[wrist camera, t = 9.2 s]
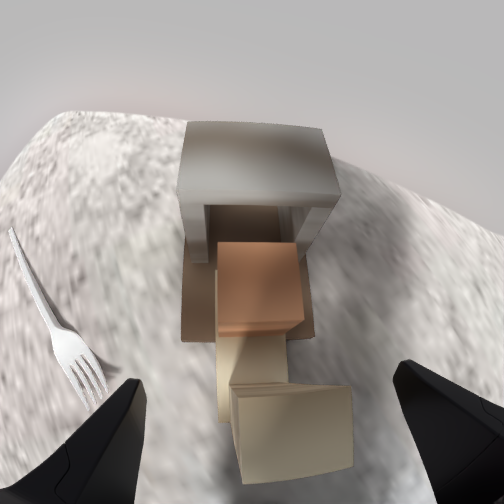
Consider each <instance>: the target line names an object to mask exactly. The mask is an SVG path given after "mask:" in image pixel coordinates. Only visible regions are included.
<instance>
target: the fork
mask: <svg viewBox="0 0 504 504" xmlns="http://www.w3.org/2000/svg"><path fill="white" fill-rule="evenodd" d="M8 231H9V235H10V238H11V241H12V244H13V247H14V250H15V253H16V256H17V259H18V262H19V264H20V267H21V270H22V272H23V275H24V277H25V280H26V282H27V284H28V287H29V289H30V291H31V294H32V296H33V298H34V300H35V302H36V305H37V307H38V309H39V311H40V313H41V315H42V317H43V319H44V321H45V323H46V325H47V327H48V328H49V330H50V333H51V337H52V344H53V350H54V354H55V356H56V358H57V360H58V362H59V364H60V365H61V367H62V369H63V370H64V372H65V373H66V375H67V377H68V378H69V380H70V381H71V383H72V385H73V386H74V388H75V390H76V392H77V393H78V395H79V397H80V398H81V400H82V402H83V403H84V405H85V407H86V409H87V410H88V411H90V407H89V405H88V402H87V399H86V397H85V394H84V392H83V389H82V387H81V385H80V383H79V381H78V378H77V377H76V375H75V374H74V372H73V371H72V369H71V367H70V365H73V367H74V369H75V371H76V372H77V374H78V376H79V377H80V379H81V381H82V382H83V384H84V386H85V388H86V390H87V391H88V393H89V395H90V397H91V399H92V401H93V403H94V404H95V405H96V404H97V402H96V399H95V396H94V394H93V391H92V389H91V387H90V385H89V383H88V381H87V379H86V377H85V375H84V373H83V372H82V370H81V369H80V367H79V366H78V365H77V363H76V361H75V360H76V359H78V361H79V362H80V364H81V365H82V367H83V369H84V370H85V372H86V374H87V375H88V377H89V379H90V380H91V382H92V384H93V386H94V387H95V389H96V391H97V393H98V395H99V397H100V398H101V399H103V395H102V392H101V390H100V388H99V385H98V383H97V381H96V379H95V377H94V375H93V373H92V371H91V369H90V368H89V366H88V365H87V364H86V362H85V361H84V359H83V358H82V356H81V354H84V355H85V357H86V359H87V360H88V362H89V363H90V365H91V366H92V368H93V370H94V371H95V373H96V374H97V376H98V378H99V380H100V381H101V383H102V385H103V387H104V389H105V391H106V392H107V393H109V389H108V385H107V382H106V379H105V376H104V373H103V371H102V368H101V366H100V364H99V362H98V360H97V358H96V357H95V355H94V354H93V353H92V351H91V350H90V348H89V347H88V346H87V345H86V344H85V343H84V341H83V339H82V338H81V337H80V335H79V334H77V333H76V332H75V331H73V330H69V329H66V328H63V327H62V326H61V325H60V324H59V322H58V321H57V319H56V317H55V315H54V314H53V312H52V310H51V308H50V306H49V305H48V303H47V301H46V299H45V297H44V295H43V293H42V291H41V289H40V287H39V285H38V283H37V282H36V280H35V278H34V276H33V274H32V272H31V270H30V268H29V265H28V263H27V261H26V259H25V257H24V255H23V252H22V250H21V248H20V245H19V243H18V240H17V238H16V235H15V233H14V230H13V227H11V228H10V229H9V230H8Z"/></svg>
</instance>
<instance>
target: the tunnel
mask: <svg viewBox="0 0 504 504" xmlns="http://www.w3.org/2000/svg"><path fill="white" fill-rule="evenodd" d="M176 191H177V196H178V201H179V206H180V211H181V216H182V221H183V226H184V231H185V246H184V262H183V281H182V309H181V341H182V342H216V333H215V270H217V255H218V242H272V243H296V246H297V254H298V263H299V271H300V280H301V289H302V299H303V308H304V319H305V320H303V321H302V322H300V323H299V324H298V325H296V326H295V327H293V328H292V329H291V330H289V331H288V332H286V333H285V336H286V340H298V339H311V338H313V337H315V332H314V321H313V312H312V302H311V293H310V285H309V277H308V269H307V261H306V254H305V253H306V251H307V250H308V248H309V247H310V245H311V244H312V242H313V240H314V239H315V237H316V236H317V234H318V232H319V231H320V229H321V228H322V226H323V224H324V223H325V221H326V220H327V218H328V216H329V215H330V213H331V211H332V210H333V208H334V206H335V205H336V203H337V202H338V200H339V198H340V197H341V192H340V188H339V184H338V181H337V177H336V174H335V170H334V167H333V163H332V160H331V157H330V154H329V150H328V148H327V144H326V141H325V138H324V135H323V132H322V129H317V128H309V127H300V126H291V125H281V124H268V123H267V124H266V123H251V122H221V121H194V122H187V127H186V132H185V138H184V143H183V149H182V155H181V161H180V168H179V174H178V181H177V188H176Z"/></svg>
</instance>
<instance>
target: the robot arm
mask: <svg viewBox="0 0 504 504" xmlns="http://www.w3.org/2000/svg"><path fill="white" fill-rule="evenodd" d="M393 384H394V387H395V390H396V393H397V396H398V399H399V402H400V405H401V409H402V412H403V414H404V417H405V419H406V422H407V424H408V426H409V429H410V431H411V434H412V436H413V439H414V441H415V443H416V446H417V448H418V451H419V454H420V456H421V459H422V461H423V464H424V467H425V469H426V472H427V475H428V478H429V480H430V483H431V486H432V489H433V492H434V495H435V498H436V501H437V504H504V408H503V407H501V406H498V405H496V404H494V403H492V402H490V401H488V400H486V399H484V398H482V397H479V396H478V395H476V394H474V393H472V392H470V391H468V390H466V389H465V388H463V387H461V386H459V385H457V384H455V383H453V382H451V381H449V380H448V379H446V378H444V377H442V376H440V375H438V374H436V373H435V372H433V371H431V370H429V369H427V368H425V367H423V366H422V365H420V364H418V363H416V362H414V361H412V360H410V359H408V360H404V361H401V362H400V363H399V365H398V367H397V369H396V371H395V374H394V376H393ZM146 404H147V397H146V393H145V390H144V387H143V384H142V381H141V380H140V379H133V378H129V379H127V380H126V381H125V382H124V383H123V384H122V385H121V386H120V387H119V388H118V389H117V390H116V391H115V392H114V393H113V394H112V395H111V396H110V397H109V398H108V399H107V400H106V401H105V402H104V403H103V404H102V405H101V406H100V407H99V408H98V409H97V410H96V411H95V412H94V413H93V414H92V415H91V416H90V417H89V418H88V419H87V420H86V421H85V422H84V423H83V424H82V425H81V426H80V427H79V428H78V429H77V430H76V431H75V432H74V433H73V434H72V435H71V436H70V437H69V438H68V439H67V440H66V441H65V443H63V444H62V445H61V446H60V447H59V448H58V449H57V450H56V451H55V452H54V453H53V454H52V455H51V456H50V457H49V458H48V459H46V460H45V461H44V462H43V463H41V464H40V465H39V466H38V467H36V468H35V469H34V470H32V471H31V472H30V473H28V474H27V475H26V476H24V477H23V478H22V479H20V480H19V481H18V482H16V483H15V484H13V485H11V486H9V487H6V488H3V489H0V504H134V500H135V493H136V486H137V479H138V473H139V466H140V460H141V455H142V449H143V443H144V432H145V417H146Z"/></svg>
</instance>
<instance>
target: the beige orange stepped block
mask: <svg viewBox="0 0 504 504" xmlns="http://www.w3.org/2000/svg"><path fill="white" fill-rule="evenodd" d="M303 320H305V319H304V308H303V299H302V289H301V280H300V271H299V263H298V254H297V246H296V243H272V242H218V255H217V270H215V333H216V374H217V400H218V421H219V423H230V424H231V429H232V435H233V440H234V445H235V449H236V454H237V459H238V464H239V468H240V473H241V477H242V482H243V485H244V484H259V483H269V482H278V481H286V480H293V479H299V478H305V477H311V476H316V475H321V474H326V473H330V472H334V471H339V470H343V469H346V468H350V467H353V464H354V447H353V411H352V392H351V386H335V385H311V384H295V383H289V382H288V366H287V350H286V336H285V333H286V332H288V331H289V330H291V329H292V328H293V327H295V326H296V325H298V324H299V323H300V322H302V321H303Z"/></svg>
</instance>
